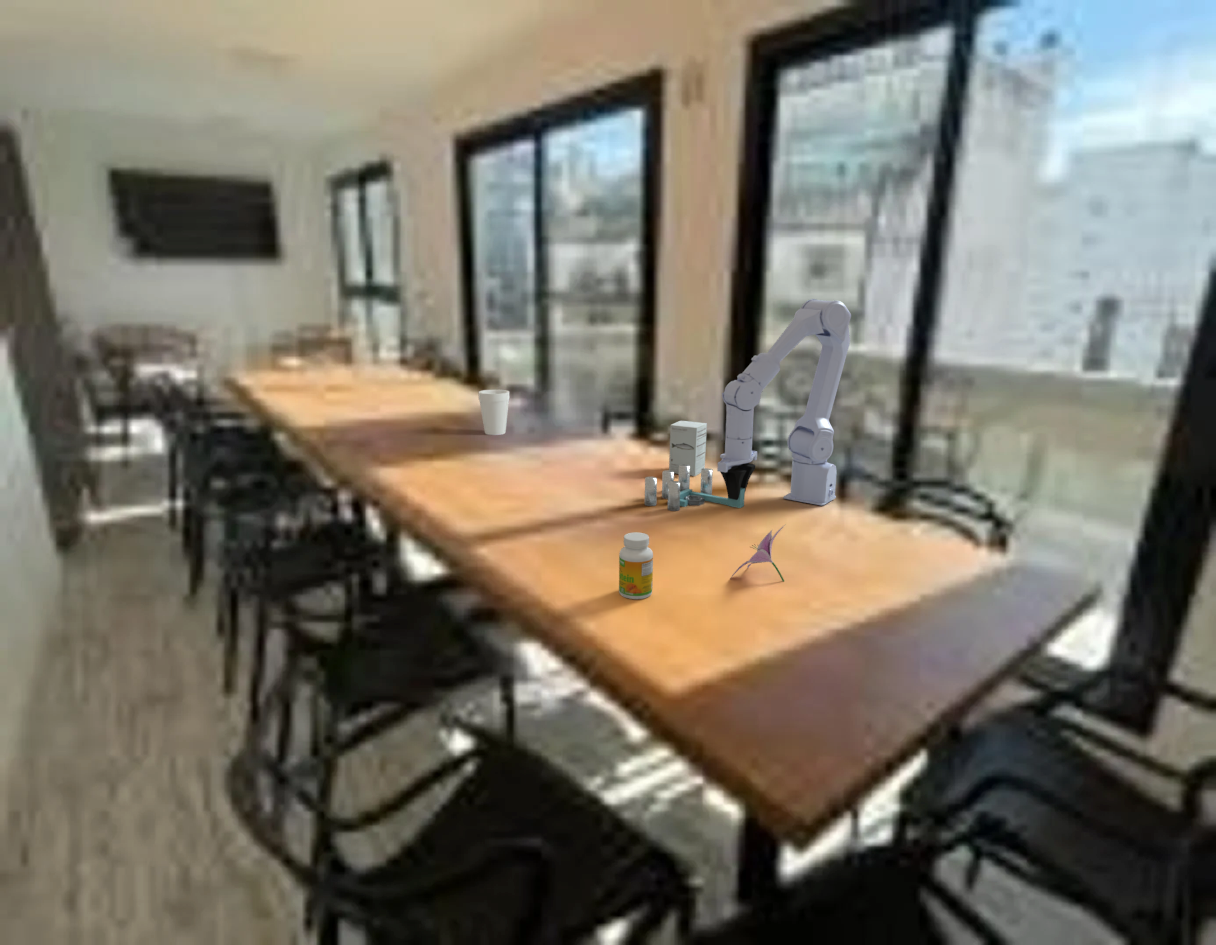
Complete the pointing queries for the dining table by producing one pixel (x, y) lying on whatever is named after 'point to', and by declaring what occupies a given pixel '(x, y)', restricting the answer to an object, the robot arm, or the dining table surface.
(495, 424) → the foam cup
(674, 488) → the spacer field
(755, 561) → the lily
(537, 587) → the dining table surface
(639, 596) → the supplement bottle
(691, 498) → the grey flat hexagonal block
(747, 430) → the robot arm
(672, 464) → the supplement box
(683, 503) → the hook tool
